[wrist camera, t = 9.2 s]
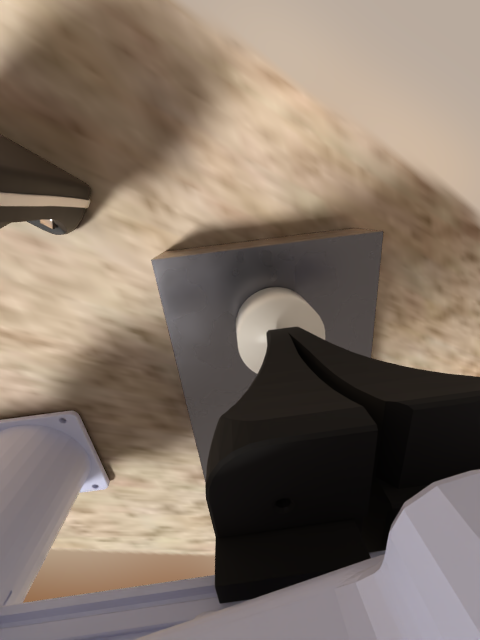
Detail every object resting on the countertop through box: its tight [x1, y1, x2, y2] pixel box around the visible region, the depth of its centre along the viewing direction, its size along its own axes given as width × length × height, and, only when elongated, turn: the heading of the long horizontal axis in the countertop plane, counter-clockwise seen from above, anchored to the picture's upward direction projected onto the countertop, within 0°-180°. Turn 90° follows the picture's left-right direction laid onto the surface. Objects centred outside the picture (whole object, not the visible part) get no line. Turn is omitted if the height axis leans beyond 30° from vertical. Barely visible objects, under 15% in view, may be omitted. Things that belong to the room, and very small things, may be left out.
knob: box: [236, 287, 325, 374], centre depth 14 cm, size 4×4×5 cm
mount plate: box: [151, 228, 383, 482], centre depth 18 cm, size 11×23×3 cm, turn 7°
